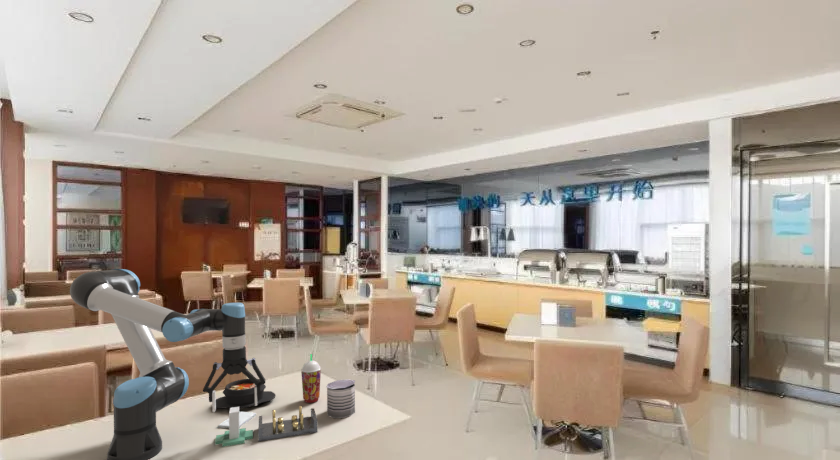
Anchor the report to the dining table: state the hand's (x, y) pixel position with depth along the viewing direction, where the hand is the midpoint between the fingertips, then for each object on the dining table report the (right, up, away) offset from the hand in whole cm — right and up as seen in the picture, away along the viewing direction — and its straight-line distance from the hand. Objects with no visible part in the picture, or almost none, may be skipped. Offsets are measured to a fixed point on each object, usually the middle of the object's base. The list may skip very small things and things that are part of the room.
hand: (235, 407), depth 152 cm
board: (0, -11, 0) cm, 11 cm away
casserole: (-10, -12, +32) cm, 35 cm away
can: (+33, -11, +22) cm, 41 cm away
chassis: (+17, -11, +6) cm, 21 cm away
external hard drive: (-5, -12, +14) cm, 19 cm away
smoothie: (+18, -11, +34) cm, 40 cm away
